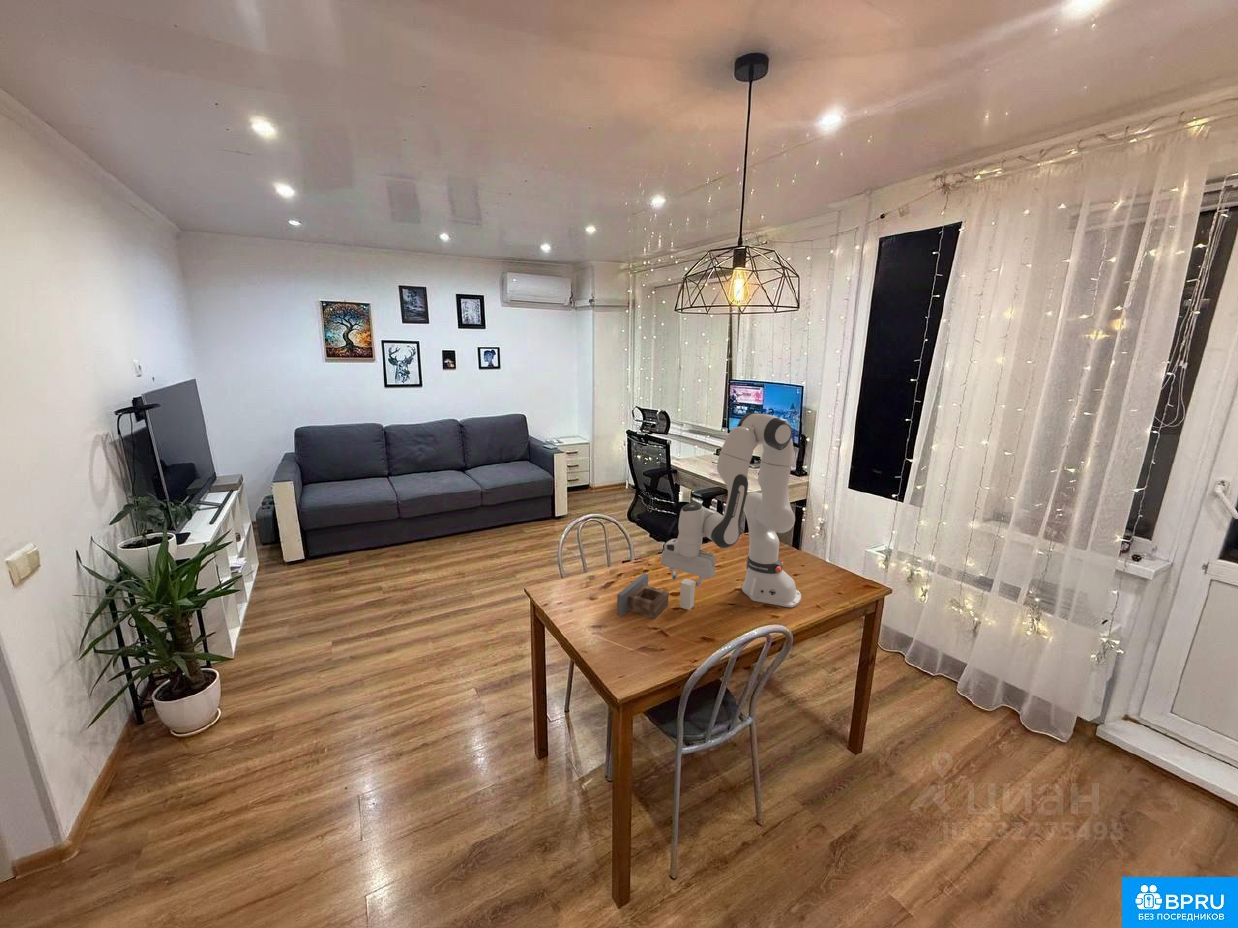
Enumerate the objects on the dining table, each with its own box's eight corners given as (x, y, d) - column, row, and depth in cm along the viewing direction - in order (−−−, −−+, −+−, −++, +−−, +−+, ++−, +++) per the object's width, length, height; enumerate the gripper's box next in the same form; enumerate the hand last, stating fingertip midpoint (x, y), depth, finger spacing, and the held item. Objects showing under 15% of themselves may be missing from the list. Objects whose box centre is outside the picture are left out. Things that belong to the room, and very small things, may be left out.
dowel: (693, 605, 186) (695, 581, 183) (689, 610, 182) (690, 585, 180) (683, 602, 188) (685, 578, 185) (679, 607, 184) (680, 582, 182)
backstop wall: (647, 592, 194) (648, 574, 192) (621, 615, 178) (622, 595, 176) (643, 591, 195) (643, 572, 193) (617, 614, 179) (617, 594, 177)
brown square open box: (668, 606, 185) (668, 591, 183) (654, 619, 176) (655, 604, 174) (642, 598, 190) (642, 584, 189) (627, 611, 181) (628, 596, 180)
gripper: (719, 551, 177) (716, 586, 180) (667, 538, 187) (665, 572, 190) (713, 557, 171) (709, 593, 174) (660, 543, 181) (658, 578, 185)
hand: (686, 582), depth 182 cm, fingers open, 8 cm apart
